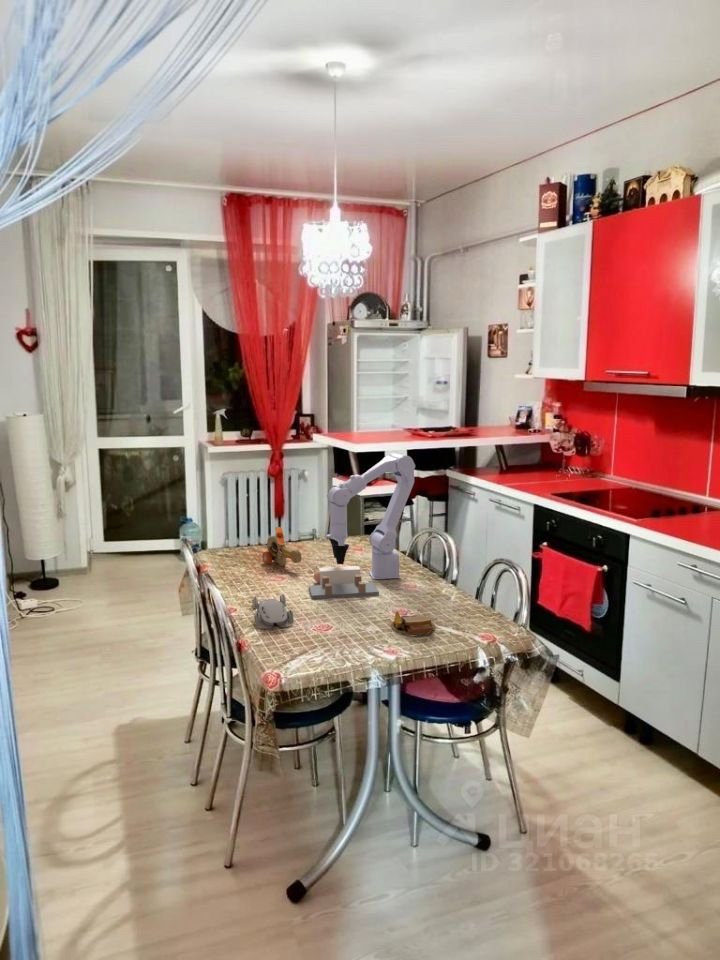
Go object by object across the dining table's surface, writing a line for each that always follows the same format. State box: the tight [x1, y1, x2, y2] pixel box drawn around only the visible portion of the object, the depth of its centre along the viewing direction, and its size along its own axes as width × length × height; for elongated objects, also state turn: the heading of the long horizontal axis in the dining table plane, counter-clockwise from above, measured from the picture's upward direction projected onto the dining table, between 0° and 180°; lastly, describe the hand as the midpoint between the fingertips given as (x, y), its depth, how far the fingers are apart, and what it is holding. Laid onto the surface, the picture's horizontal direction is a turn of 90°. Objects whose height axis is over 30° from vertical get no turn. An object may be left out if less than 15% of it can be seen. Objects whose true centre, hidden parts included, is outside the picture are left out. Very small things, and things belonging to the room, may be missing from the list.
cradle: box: [308, 573, 380, 600], centre depth 239 cm, size 22×10×4 cm, turn 99°
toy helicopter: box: [261, 526, 302, 567], centre depth 267 cm, size 8×21×14 cm, turn 39°
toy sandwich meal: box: [391, 611, 435, 636], centre depth 208 cm, size 12×14×5 cm
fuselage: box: [313, 565, 361, 585], centre depth 250 cm, size 16×4×5 cm, turn 100°
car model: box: [251, 594, 295, 630], centre depth 218 cm, size 11×24×5 cm, turn 13°
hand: (338, 560), depth 249 cm, fingers open, 7 cm apart
